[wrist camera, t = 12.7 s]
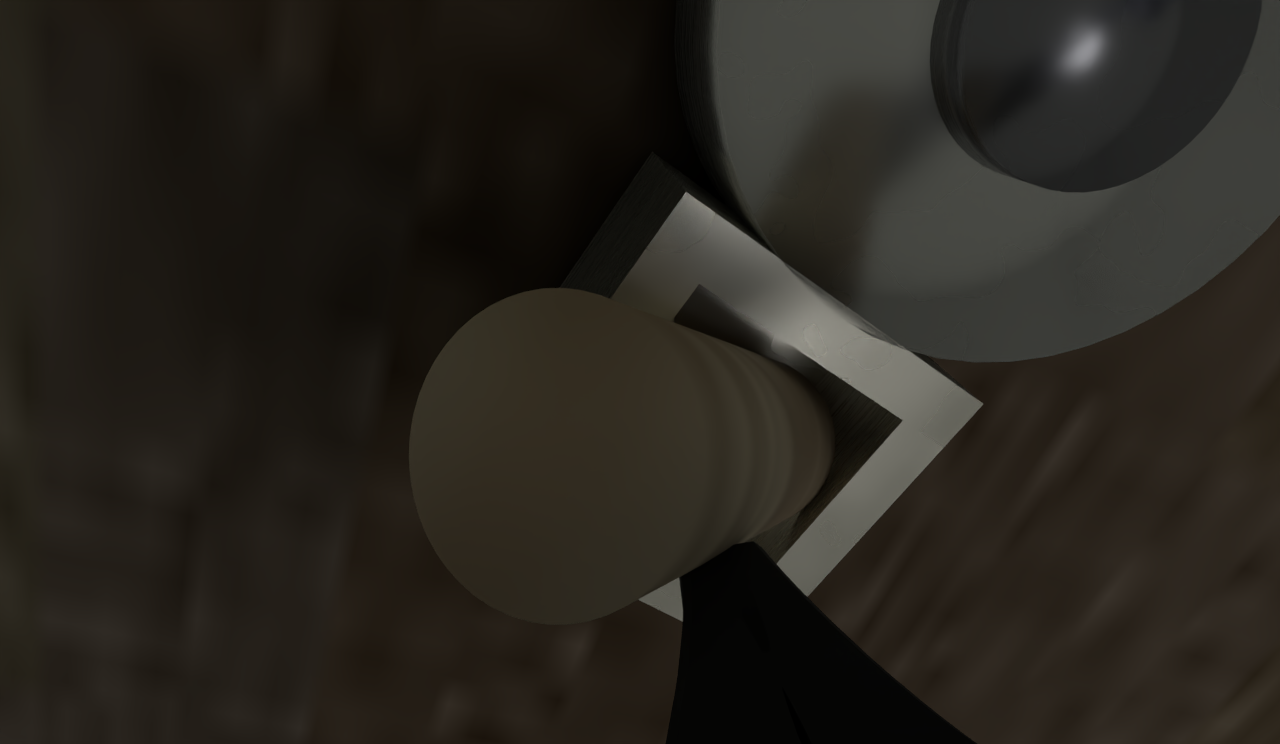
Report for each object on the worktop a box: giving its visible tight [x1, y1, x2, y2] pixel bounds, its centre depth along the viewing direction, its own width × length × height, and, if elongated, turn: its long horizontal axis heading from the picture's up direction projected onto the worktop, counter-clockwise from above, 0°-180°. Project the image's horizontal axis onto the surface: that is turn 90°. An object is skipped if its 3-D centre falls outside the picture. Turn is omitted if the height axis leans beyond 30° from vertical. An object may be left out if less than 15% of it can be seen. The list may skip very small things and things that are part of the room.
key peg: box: [409, 288, 835, 624], centre depth 11 cm, size 3×3×8 cm
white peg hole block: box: [559, 0, 1280, 621], centre depth 13 cm, size 16×10×5 cm, turn 145°
